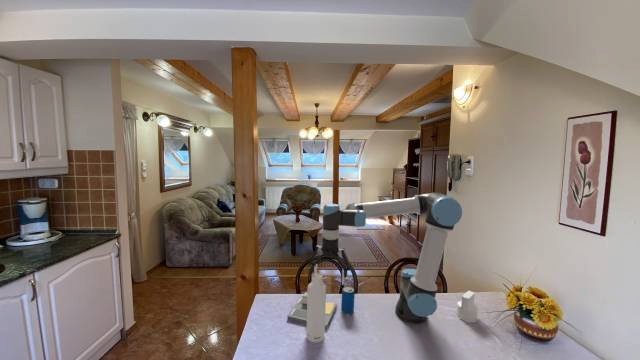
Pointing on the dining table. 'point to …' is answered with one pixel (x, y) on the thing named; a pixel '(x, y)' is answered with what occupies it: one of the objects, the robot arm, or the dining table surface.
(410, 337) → the dining table surface
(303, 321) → the breaker panel
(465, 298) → the cylinder with rectangular tab
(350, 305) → the beverage can
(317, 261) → the robot arm
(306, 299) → the toggle
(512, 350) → the dining table surface
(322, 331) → the bottle
